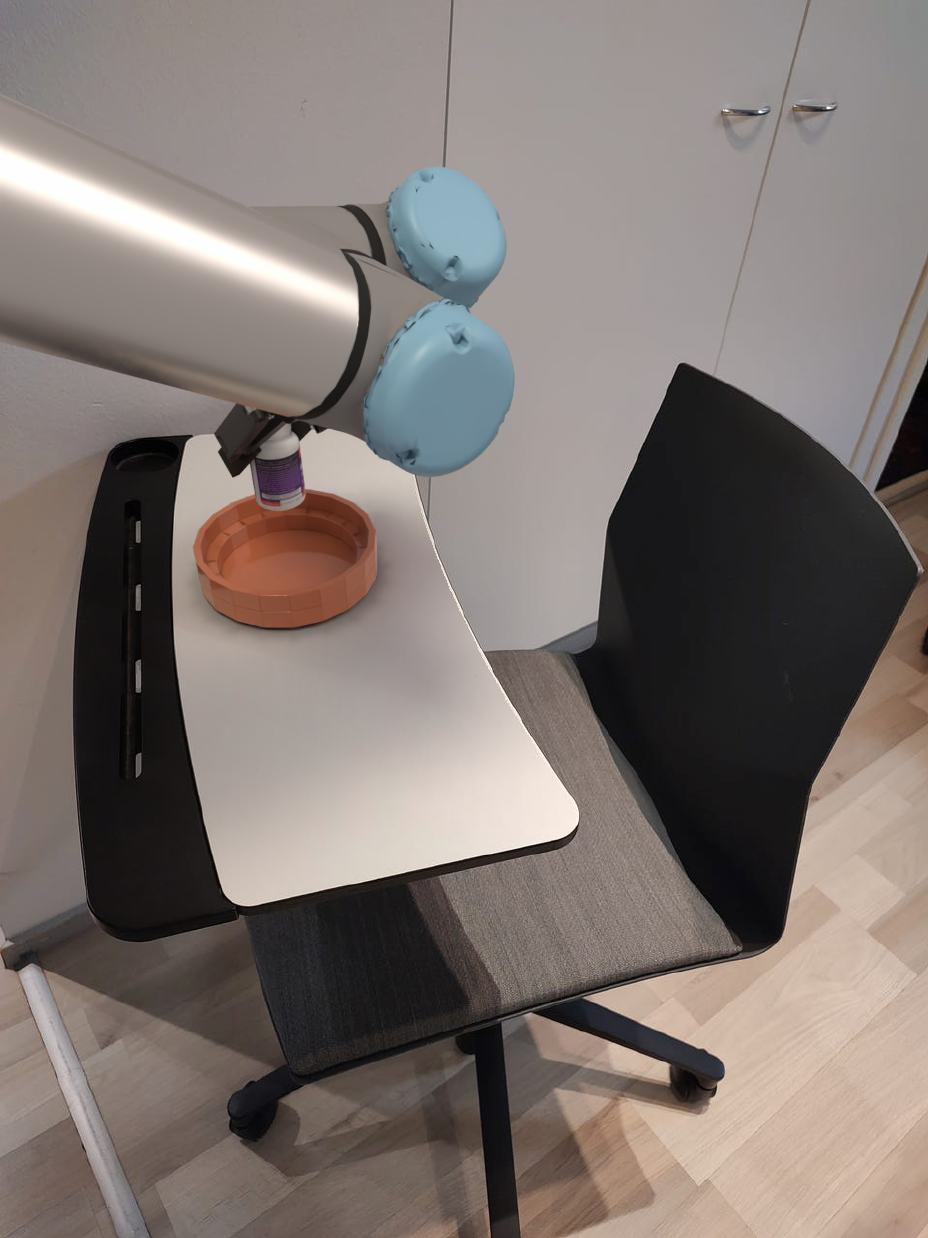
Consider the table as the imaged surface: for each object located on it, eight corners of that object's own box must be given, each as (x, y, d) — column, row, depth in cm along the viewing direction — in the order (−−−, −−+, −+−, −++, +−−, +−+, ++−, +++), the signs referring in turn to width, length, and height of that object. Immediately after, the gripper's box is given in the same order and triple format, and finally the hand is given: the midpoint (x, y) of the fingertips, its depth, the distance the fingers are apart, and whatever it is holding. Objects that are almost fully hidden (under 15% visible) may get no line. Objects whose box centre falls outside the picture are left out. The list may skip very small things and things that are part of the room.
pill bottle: (316, 499, 83) (307, 419, 77) (274, 518, 80) (262, 437, 75) (287, 479, 85) (276, 400, 80) (246, 497, 83) (232, 417, 77)
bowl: (214, 649, 81) (206, 612, 78) (192, 541, 93) (184, 505, 90) (397, 610, 85) (396, 574, 82) (353, 512, 97) (350, 477, 94)
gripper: (278, 428, 59) (190, 525, 78) (466, 351, 68) (346, 455, 88) (221, 327, 58) (146, 450, 78) (419, 263, 68) (309, 387, 87)
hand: (253, 452), depth 83 cm, fingers closed on pill bottle, 5 cm apart
